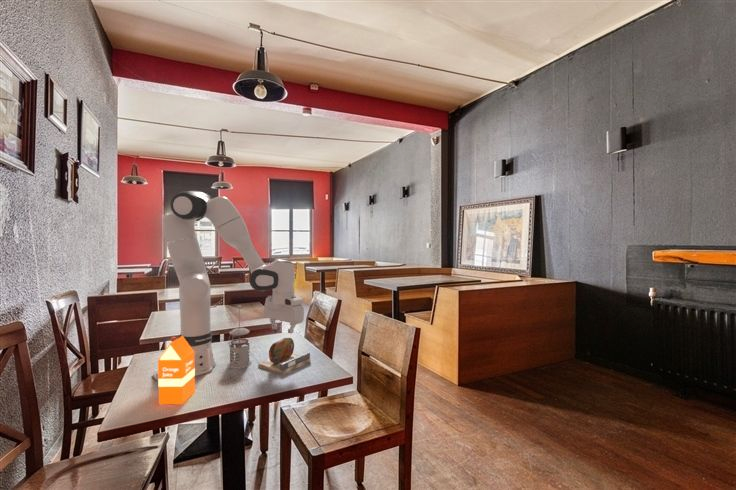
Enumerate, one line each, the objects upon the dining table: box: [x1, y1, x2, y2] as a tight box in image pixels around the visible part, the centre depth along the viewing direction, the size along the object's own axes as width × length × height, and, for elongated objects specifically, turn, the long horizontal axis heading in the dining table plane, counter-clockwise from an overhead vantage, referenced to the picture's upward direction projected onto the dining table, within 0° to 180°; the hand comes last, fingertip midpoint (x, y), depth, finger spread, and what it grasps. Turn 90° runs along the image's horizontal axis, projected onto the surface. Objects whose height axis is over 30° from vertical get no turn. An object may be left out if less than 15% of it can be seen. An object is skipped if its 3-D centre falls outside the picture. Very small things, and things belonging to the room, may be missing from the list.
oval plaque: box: [268, 337, 295, 364], centre depth 149 cm, size 15×3×8 cm, turn 159°
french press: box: [227, 304, 253, 370], centre depth 148 cm, size 10×12×25 cm
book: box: [257, 353, 311, 375], centre depth 148 cm, size 16×14×2 cm
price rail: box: [280, 352, 311, 371], centre depth 145 cm, size 16×1×2 cm, turn 147°
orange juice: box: [157, 336, 196, 405], centre depth 118 cm, size 8×9×20 cm
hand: (282, 331), depth 148 cm, fingers open, 8 cm apart
